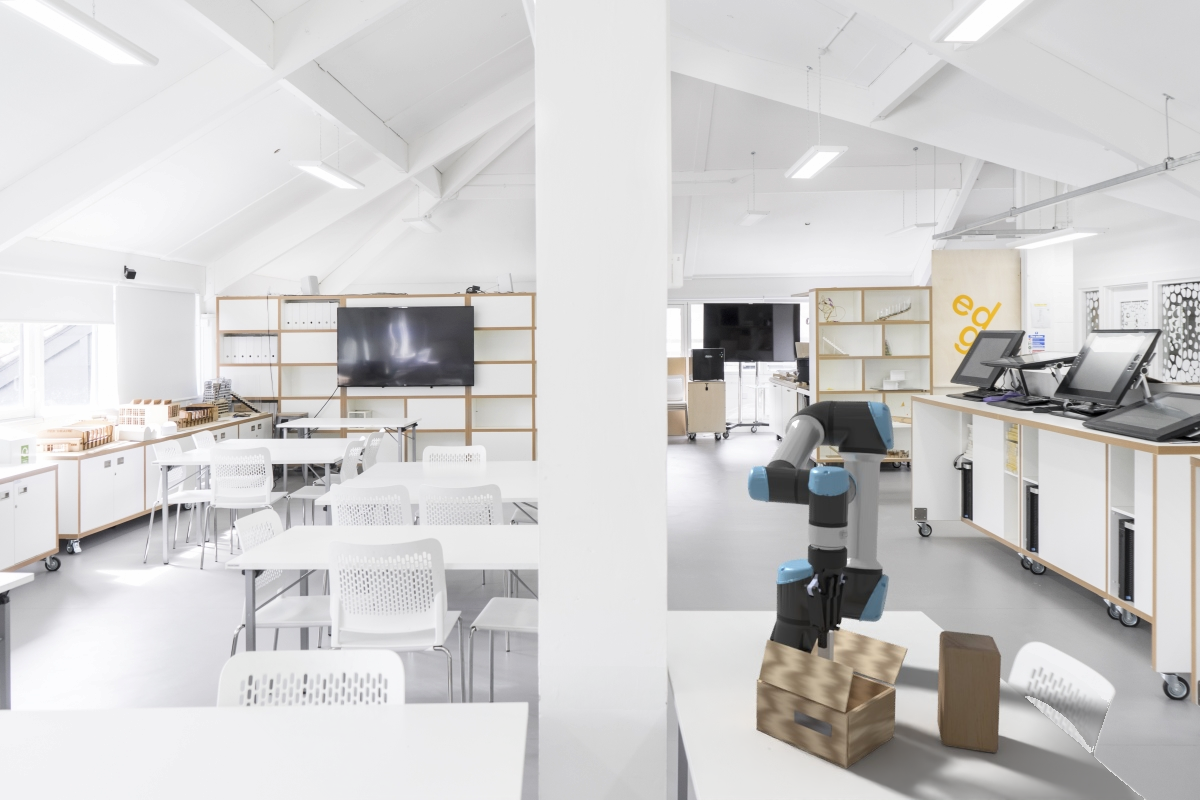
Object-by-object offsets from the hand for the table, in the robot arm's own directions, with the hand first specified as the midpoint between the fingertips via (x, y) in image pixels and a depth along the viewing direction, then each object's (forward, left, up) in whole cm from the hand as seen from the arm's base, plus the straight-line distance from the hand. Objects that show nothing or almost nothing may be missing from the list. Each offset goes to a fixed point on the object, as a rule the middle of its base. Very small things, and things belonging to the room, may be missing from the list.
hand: (825, 662), depth 153 cm
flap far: (0, +9, -5) cm, 10 cm away
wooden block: (+20, +19, -15) cm, 31 cm away
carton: (0, 0, -15) cm, 15 cm away
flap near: (0, -9, -5) cm, 10 cm away
